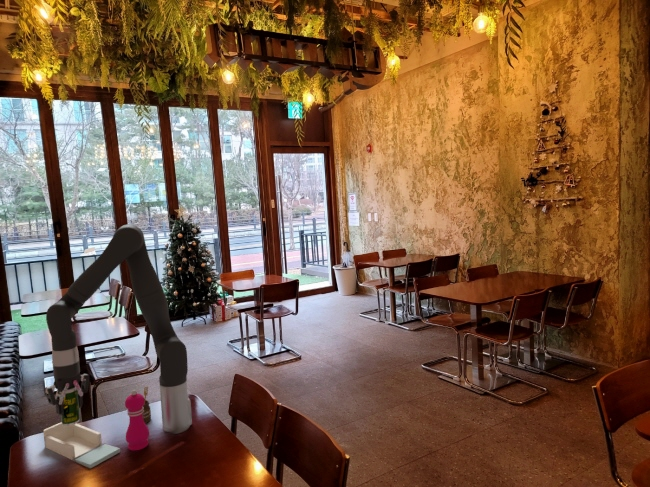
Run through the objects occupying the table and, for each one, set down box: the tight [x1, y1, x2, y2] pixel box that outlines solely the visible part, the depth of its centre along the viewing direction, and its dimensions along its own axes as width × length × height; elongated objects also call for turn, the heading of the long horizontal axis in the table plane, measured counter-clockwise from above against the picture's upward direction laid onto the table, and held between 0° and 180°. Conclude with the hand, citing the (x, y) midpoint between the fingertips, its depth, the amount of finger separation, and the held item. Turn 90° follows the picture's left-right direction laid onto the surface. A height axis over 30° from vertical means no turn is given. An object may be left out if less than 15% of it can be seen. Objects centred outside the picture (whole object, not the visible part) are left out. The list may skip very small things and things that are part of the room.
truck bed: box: [43, 422, 103, 461], centre depth 147 cm, size 10×16×7 cm, turn 59°
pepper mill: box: [124, 389, 150, 451], centre depth 146 cm, size 7×7×20 cm
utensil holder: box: [143, 386, 152, 424], centre depth 165 cm, size 6×6×12 cm
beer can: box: [59, 387, 81, 426], centre depth 146 cm, size 5×5×12 cm
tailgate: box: [71, 442, 121, 469], centre depth 141 cm, size 10×2×9 cm
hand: (70, 410), depth 146 cm, fingers closed on beer can, 5 cm apart
